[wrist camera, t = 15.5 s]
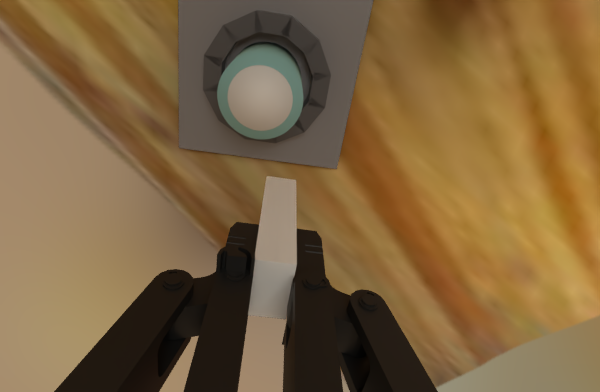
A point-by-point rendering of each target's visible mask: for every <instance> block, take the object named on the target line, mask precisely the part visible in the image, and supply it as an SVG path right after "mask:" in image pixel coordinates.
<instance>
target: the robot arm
mask: <svg viewBox="0 0 600 392" xmlns="http://www.w3.org/2000/svg"><path fill="white" fill-rule="evenodd" d="M248 315H250V316H259V317H270V318H278V319H286V316H287V323H286V328H285V333H284V337H283V342H282V344H283V345H284V374H283V392H343V387H342V379H341V370H340V367H341V369H342V372H343V374H344V377H345V380H346V382H347V385H348V388H349V390H350V392H438V391H437V390H436V388H435V386H434V384H433V383H432V381H431V379H430V378H429V376H428V374H427V373H426V371H425V369H424V367H423V366H422V364H421V362H420V361H419V359H418V357H417V355H416V354H415V352H414V350H413V349H412V347H411V345H410V344H409V342H408V340H407V338H406V337H405V335H404V333H403V332H402V330H401V328H400V326H399V325H398V323H397V321H396V320H395V318H394V316H393V315H392V313H391V311H390V309H389V308H388V306H387V304H386V303H385V301H384V300H383V299H382V298H381V296H379V295H378V294H376V293H374V292H372V291H369V290H358V291H355V292H354V293H352V295H351V296H350V295H347V294H345V293H342V292H340V291H337V290H336V289H334V288H333V287H332V286H331V285H330V283H329V280H328V279H327V278H326V276H325V267H324V258H323V249H322V240H321V237H320V236H319V235H318V233H317V232H316V231H310V230H302V229H297V225H296V180H292V179H285V178H278V177H271V176H267V177H266V183H265V190H264V197H263V203H262V210H261V217H260V224H259V225H257V224H249V223H241V222H236V223H235V224H234V225H233V226H232V227H231V228H230V232H229V235H228V239H227V243H226V247H224V248H222V249H221V250H220V251H219V252H218V254H217V268H216V272H215V273H213V274H211V275H209V276H206V277H201V278H194V279H193V277H192V276H191V275H190V274H189V273H188V272H186V271H183V270H177V269H174V270H167V271H164V272H162V273H160V274H159V275H158V276H156V277H155V278H154V280H152V282H151V283H150V284H149V285H148V286H147V287H146V288H145V289H144V291H143V292H142V293H141V294H140V295H139V296H138V297H137V299H136V300H135V301H134V302H133V303H132V304H131V305H130V307H129V308H128V309H127V310H126V311H125V312H124V313H123V314H122V316H121V317H120V318H119V319H118V320H117V321H116V322H115V323H114V325H113V326H112V327H111V328H110V329H109V330H108V331H107V333H106V334H105V335H104V336H103V337H102V338H101V339H100V340H99V342H98V343H97V344H96V345H95V346H94V348H92V350H91V351H90V352H89V353H88V354H87V355H86V356H85V358H84V359H83V360H82V361H81V362H80V363H79V364H78V365H77V367H76V368H75V369H74V370H73V371H72V372H71V373H70V374H69V376H68V377H67V378H66V379H65V380H64V381H63V382H62V383H61V385H60V386H59V387H58V388H57V389H56V390H55V391H54V392H159V391H160V389H161V387H162V386H163V384H164V382H165V381H166V379H167V378H168V376H169V374H170V373H171V371H172V369H173V368H174V366H175V364H176V363H177V361H178V360H179V358H180V356H181V355H182V353H183V351H184V350H185V348H186V346H187V345H188V343H189V342H190V339H191V337H193V336H199V338H198V341H197V345H196V348H195V352H194V356H193V359H192V363H191V367H190V370H189V374H188V378H187V381H186V385H185V389H184V392H237V391H238V383H239V377H240V369H241V362H242V355H243V348H244V341H245V333H246V326H247V319H248Z"/></svg>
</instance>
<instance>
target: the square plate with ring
mask: <svg viewBox="0 0 600 392" xmlns="http://www.w3.org/2000/svg"><path fill="white" fill-rule="evenodd" d="M372 4H373V0H178V22H179V148H183V149H190V150H198V151H205V152H213V153H220V154H228V155H235V156H243V157H251V158H258V159H266V160H273V161H281V162H288V163H296V164H303V165H311V166H318V167H326V168H333V169H337V165H338V161H339V156H340V151H341V147H342V142H343V138H344V133H345V128H346V124H347V119H348V115H349V110H350V105H351V101H352V96H353V92H354V87H355V82H356V78H357V73H358V69H359V64H360V59H361V55H362V50H363V46H364V41H365V36H366V32H367V27H368V23H369V18H370V13H371V9H372ZM265 41H266V42H273V43H276V44H279V45H281V46H283V47H284V48H286V49H287V50H288V51H289V52H290V53H291V54H292V55H293V56H294V57H295V59H296V61H297V63H298V65H299V68H300V71H301V79H302V88H303V107H302V111H301V113H300V116H299V118H298V120H297V121H296V123H295V124H294V125H293V126H292V127H291V128H290V129H289V130H288V131H287V132H285V133H284V134H282V135H280V136H278V137H275V138H271V139H254V138H250V137H247V136H244V135H242V134H240V133H239V132H237V131H236V130H234V129H233V128H232V127H231V126H230V125H229V124H228V123H227V121H226V120H225V119H224V117H223V115H222V113H221V111H220V108H219V105H218V99H217V90H218V84H219V80H220V78H221V76H222V74H223V72H224V71H225V69H226V68H227V67H228V66H229V64H230V63H231V62H232V61H233V60H234V59H235V57H236V56H237V55H238V54H239V53H240V52H241V51H242V50H243V49H244V48H246V47H247V46H249V45H251V44H253V43H256V42H265Z"/></svg>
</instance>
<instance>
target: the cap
mask: <svg viewBox="0 0 600 392" xmlns="http://www.w3.org/2000/svg"><path fill="white" fill-rule="evenodd" d="M217 99H218V105H219V108H220V111H221V113H222V115H223V117H224V119H225V120H226V121H227V123H228V124H229V125H230V126H231V127H232V128H233V129H234V130H236V131H237V132H239V133H240V134H242V135H244V136H247V137H250V138H254V139H271V138H275V137H278V136H280V135H282V134H284V133H285V132H287V131H288V130H289V129H290V128H291V127H292V126H293V125H294V124H295V123H296V121H297V120H298V118H299V116H300V113H301V111H302V107H303V88H302V79H301V71H300V68H299V65H298V63H297V61H296V59H295V57H294V56H293V55H292V54H291V53H290V52H289V51H288V50H287V49H286V48H284V47H283V46H281V45H279V44H276V43H273V42H266V41H265V42H256V43H253V44H251V45H249V46H247V47H246V48H244V49H243V50H242V51H241V52H240V53H239V54H238V55H237V56H236V57H235V59H234V60H233V61H232V62H231V63H230V64H229V66H228V67H227V68H226V69H225V71H224V72H223V74H222V76H221V78H220V80H219V84H218V90H217Z"/></svg>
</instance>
